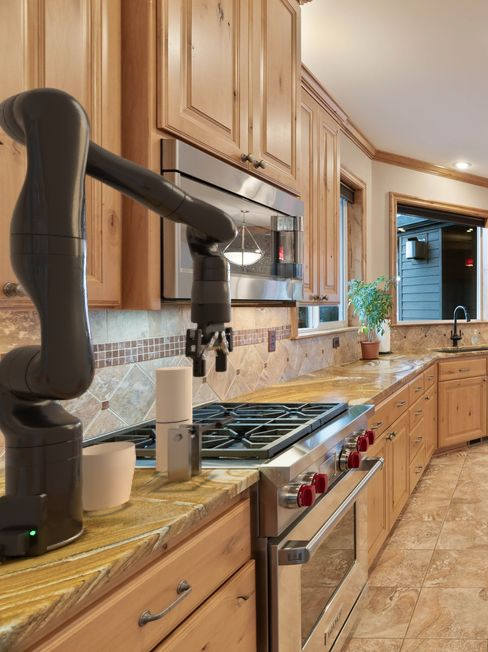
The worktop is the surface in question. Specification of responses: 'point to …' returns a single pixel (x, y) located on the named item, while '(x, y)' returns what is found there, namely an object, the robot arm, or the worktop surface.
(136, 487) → the worktop surface
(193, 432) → the lever
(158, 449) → the cylindrical container
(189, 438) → the bracket
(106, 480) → the cup
